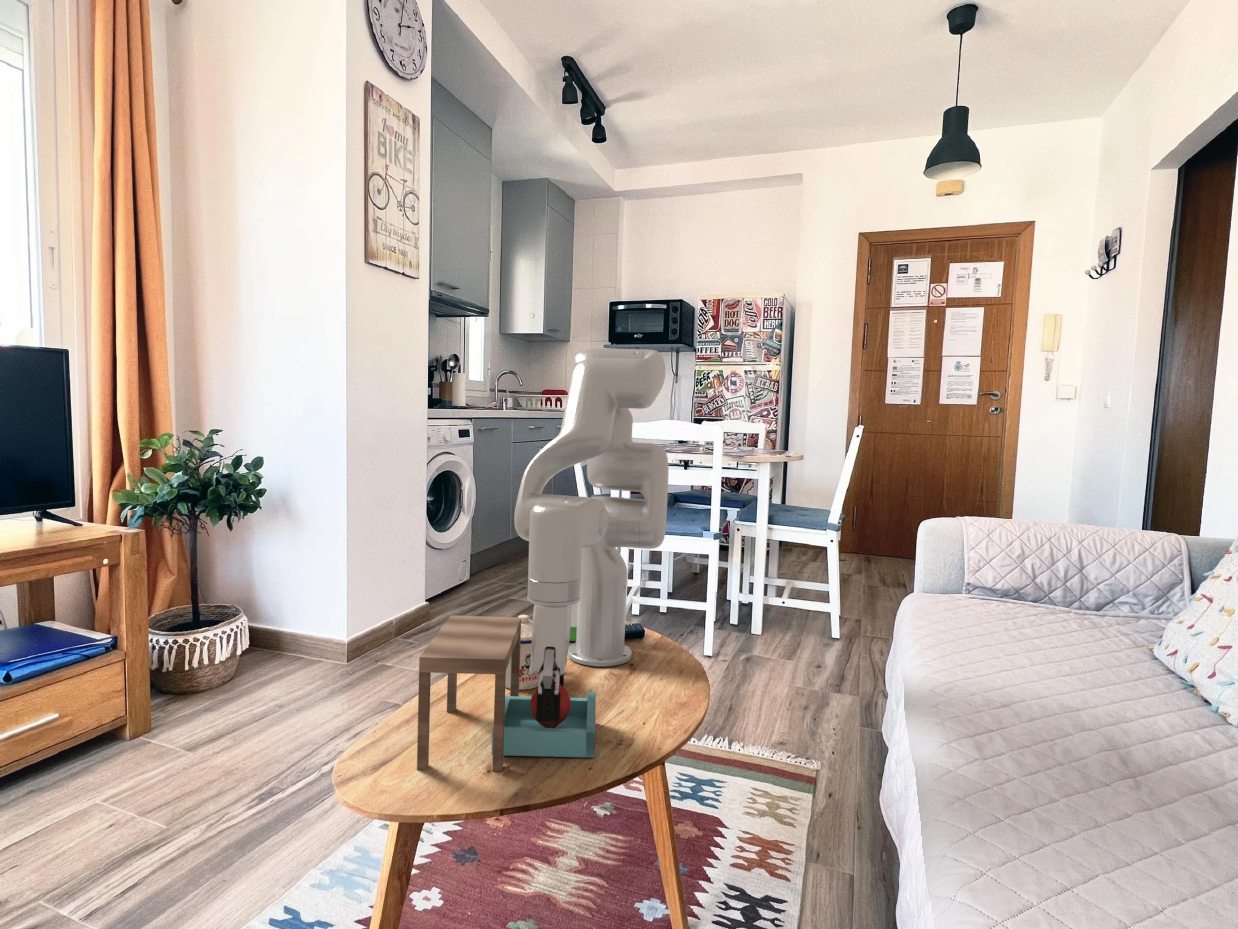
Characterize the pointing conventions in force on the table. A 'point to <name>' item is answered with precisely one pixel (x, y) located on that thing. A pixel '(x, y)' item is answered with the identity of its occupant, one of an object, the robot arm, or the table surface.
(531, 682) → the teacup with lid
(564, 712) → the onion
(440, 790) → the table surface
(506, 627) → the wooden stool
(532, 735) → the shelf tray
